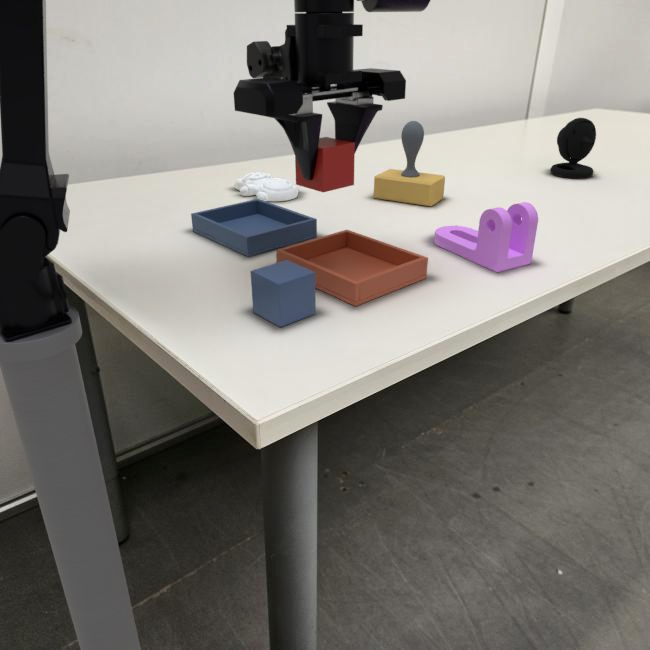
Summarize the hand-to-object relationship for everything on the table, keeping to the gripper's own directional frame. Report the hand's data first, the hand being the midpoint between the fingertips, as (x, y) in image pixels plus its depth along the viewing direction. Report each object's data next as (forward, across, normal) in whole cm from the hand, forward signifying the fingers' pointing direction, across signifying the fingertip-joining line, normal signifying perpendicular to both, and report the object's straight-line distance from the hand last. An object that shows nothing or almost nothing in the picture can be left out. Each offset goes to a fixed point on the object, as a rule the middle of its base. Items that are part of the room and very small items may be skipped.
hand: (325, 175), depth 66 cm
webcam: (+12, -66, -5) cm, 67 cm away
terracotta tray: (+11, -2, +2) cm, 11 cm away
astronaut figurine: (+11, -16, -32) cm, 38 cm away
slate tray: (+11, -2, -16) cm, 20 cm away
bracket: (+12, -18, +8) cm, 23 cm away
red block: (+1, 0, 0) cm, 1 cm away
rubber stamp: (+12, -31, -14) cm, 36 cm away
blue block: (+11, +10, +5) cm, 16 cm away
